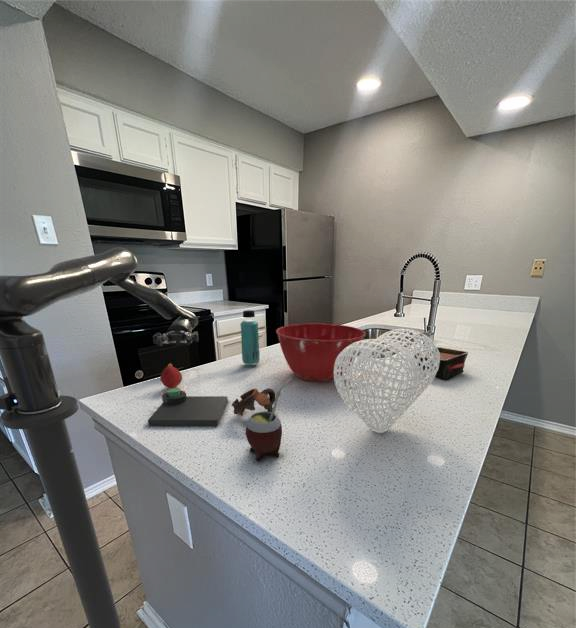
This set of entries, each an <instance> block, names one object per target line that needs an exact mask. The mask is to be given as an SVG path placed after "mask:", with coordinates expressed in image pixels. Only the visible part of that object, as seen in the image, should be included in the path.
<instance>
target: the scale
mask: <svg viewBox="0 0 576 628" xmlns="http://www.w3.org/2000/svg"><path fill="white" fill-rule="evenodd" d="M179 390H180V396H177V397H168V392H167V391H166V392H164V393H163V394H162V395H161V400H162V403H161V404H160V405H159V407H158V408H156V410H155V411H154V412H153V413H152V414H151V415H150V417H149V418H148V419H147V423H148V427H218V426H219V424H220V421H221V419H222V417H223V414H224V412H225V410H226V407H227V405H228V402H229V399H228V396H225V395H223V396H220V395H219V396H218V395H217V396H216V395H215V396H214V395H211V396H209V395H208V396H207V395H204V396H202V395H199V396H197V395H194V396H193V395H192V396H191V395H188V396H187V392H186V391H185V390H181V389H179Z"/></svg>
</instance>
